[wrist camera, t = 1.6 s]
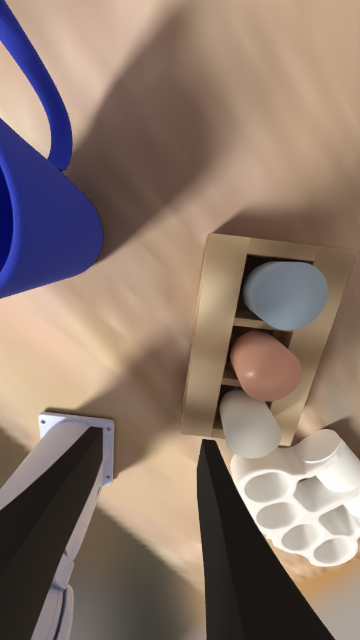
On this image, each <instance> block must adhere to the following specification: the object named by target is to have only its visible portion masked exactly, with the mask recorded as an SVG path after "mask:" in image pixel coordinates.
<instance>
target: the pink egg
mask: <svg viewBox="0 0 360 640" xmlns="http://www.w3.org/2000/svg"><path fill="white" fill-rule="evenodd" d="M230 361H231V363H232V366H233V368H234V370H235V372H236V375H237V377H238V379H239V382H240V384H241V386H242V388H243V390H244V391H245V392H246V393H247V394H248V395H249V396H250V397H252V398H254V399H256V400H260V401H275V400H279V399H282V398H284V397H286V396H287V395H289V394H290V393H291V392H293V391H294V390H295V388H296V387H297V386H298V384H299V382H300V380H301V376H302V368H301V364H300V362H299V360H298V358H297V357H296V356H295V355H294V354H293V353H292V352H290V351H289V350H288V349H287V348H286V347H285V346H284V345H282V344H281V343H280V342H279V341H278V340H277V339H276V338H275V337H273V336H272V335H271V334H269V333H267V332H264V331H250V332H247V333H244V334H243V335H241V336H240V337H238V338H237V339H236V340H235V342H234V343H233V345H232V347H231V350H230Z"/></svg>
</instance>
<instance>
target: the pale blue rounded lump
mask: <svg viewBox="0 0 360 640" xmlns="http://www.w3.org/2000/svg"><path fill="white" fill-rule="evenodd" d="M327 296H328V287H327V282H326V279H325V277H324V275H323V274H322V273H321V272H320V271H319V270H318V269H317V268H316V267H314V266H312V265H310V264H307V263H303V262H267V263H263V264H261V265H259V266H257V267H256V268H255V269H253V270H252V271H251V272H250V273H249V275H248V276H247V278H246V280H245V282H244V285H243V299H244V302H245V304H246V306H247V307H248V308H249V309H250V310H251V311H252V312H253V313H255V314H256V315H257V316H258V317H260V318H261V319H262V320H264V321H265V322H266V323H267V324H269V325H270V326H272V327H274V328H277V329H280V330H294V329H298V328H301V327H304V326H306V325H307V324H309V323H311V322H312V321H313V320H314V319H315V318H316V317H317V316H318V315H319V314H320V313H321V311H322V310H323V308H324V306H325V303H326V300H327Z"/></svg>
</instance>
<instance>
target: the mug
mask: <svg viewBox="0 0 360 640" xmlns="http://www.w3.org/2000/svg"><path fill="white" fill-rule="evenodd" d="M0 40H1V42H2V43H3V45H4V46H5V47H6V49H7V50H8V51H9V53H10V54H11V55H12V57H13V58H14V60H15V61H16V62H17V64H18V65H19V67H20V68H21V70H22V71H23V73H24V74H25V75H26V77H27V79H28V80H29V82H30V83H31V85H32V86H33V88H34V90H35V91H36V93H37V95H38V97H39V99H40V101H41V103H42V105H43V107H44V109H45V112H46V114H47V117H48V120H49V124H50V130H51V150H50V154H49V157H48V159H46V158H45V157H43V156H42V155H41V154H40V153H39V152H38V151H36V150H35V149H34V148H33V147H32V146H31V145H29V144H28V143H27V142H26V141H25V140H24V139H23V138H21V137H20V136H19V135H18V134H17V133H16V132H15V131H14V130H13V129H12V128H11V127H10V126H8V125H7V124H6V123H5V122H4V121H3V120H2V119H1V118H0V299H1V298H4V297H8V296H11V295H14V294H17V293H21V292H24V291H27V290H30V289H34V288H37V287H40V286H44V285H47V284H50V283H53V282H57V281H60V280H63V279H67V278H70V277H73V276H76V275H78V274H81V273H82V272H84V271H86V270H87V269H88V268H89V267H91V266H92V265H93V263H94V262H95V261H96V259H97V258H98V256H99V254H100V251H101V248H102V243H103V230H102V225H101V221H100V218H99V216H98V213H97V211H96V209H95V207H94V206H93V204H92V203H91V201H90V200H89V199H88V198H87V196H86V195H85V194H84V193H83V192H82V191H81V190H80V189H79V188H78V187H77V186H75V185H74V184H73V183H72V182H71V181H70V180H69V179H68V178H67V177H66V176H65V175H64V174H62V173H61V171H63V170H65V169H66V168H67V167H68V165H69V163H70V159H71V155H72V145H73V141H72V130H71V124H70V120H69V117H68V113H67V111H66V108H65V105H64V103H63V101H62V98H61V96H60V94H59V92H58V90H57V88H56V86H55V84H54V82H53V80H52V78H51V76H50V75H49V73H48V71H47V69H46V68H45V66H44V64H43V62H42V61H41V59H40V57H39V55H38V54H37V52H36V50H35V49H34V47H33V45H32V44H31V42H30V41H29V39H28V37H27V36H26V34H25V32H24V31H23V29H22V27H21V26H20V24H19V23H18V21H17V19H16V18H15V16H14V15H13V13H12V11H11V10H10V8H9V7H8V5H7V4H6V2H5V0H0Z"/></svg>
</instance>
